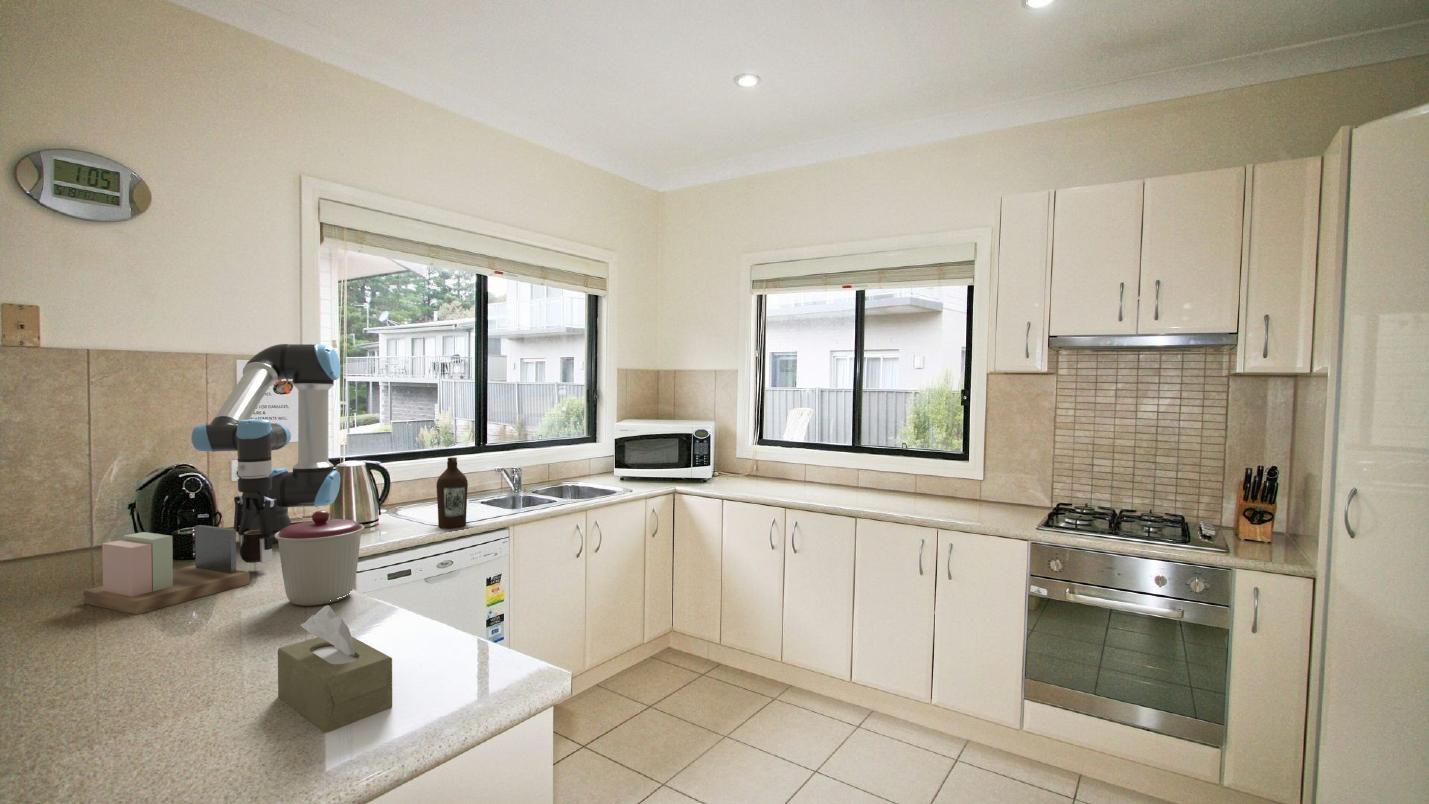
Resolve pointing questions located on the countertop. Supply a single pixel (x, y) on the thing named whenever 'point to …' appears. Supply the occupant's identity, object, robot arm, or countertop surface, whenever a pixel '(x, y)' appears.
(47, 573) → the countertop surface
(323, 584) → the canister
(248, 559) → the mate gourd
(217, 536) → the bookend
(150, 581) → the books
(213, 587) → the wooden serving tray
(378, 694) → the tissue box
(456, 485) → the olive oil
